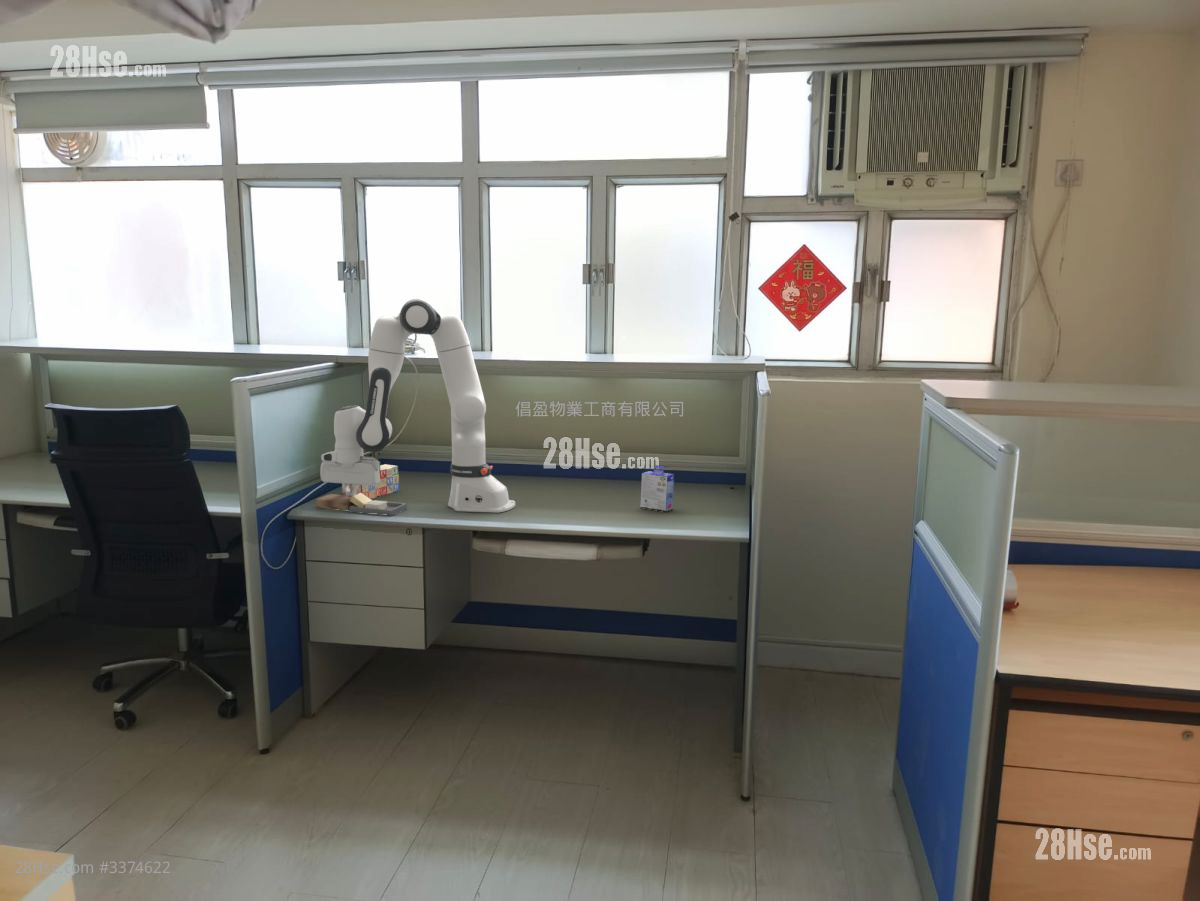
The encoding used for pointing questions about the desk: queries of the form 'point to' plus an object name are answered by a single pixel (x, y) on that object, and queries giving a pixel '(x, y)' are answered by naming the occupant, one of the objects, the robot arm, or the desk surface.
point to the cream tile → (376, 504)
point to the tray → (390, 510)
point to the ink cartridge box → (657, 489)
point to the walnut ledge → (334, 502)
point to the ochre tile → (360, 500)
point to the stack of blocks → (380, 483)
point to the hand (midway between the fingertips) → (351, 496)
